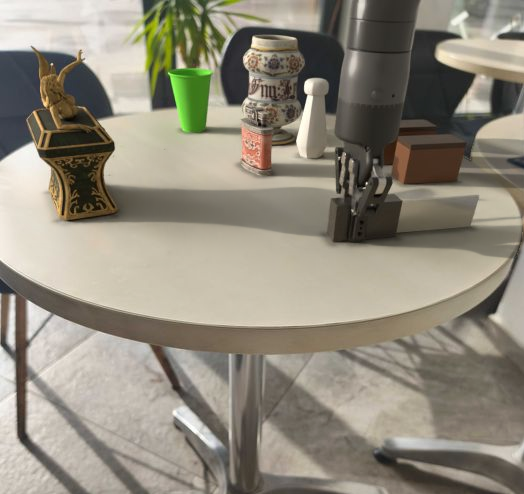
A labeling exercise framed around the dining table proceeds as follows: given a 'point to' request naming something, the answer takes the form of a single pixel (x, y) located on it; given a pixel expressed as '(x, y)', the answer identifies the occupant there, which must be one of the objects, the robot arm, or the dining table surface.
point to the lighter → (256, 141)
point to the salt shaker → (313, 120)
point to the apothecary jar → (274, 81)
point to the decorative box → (71, 148)
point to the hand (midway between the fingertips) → (351, 235)
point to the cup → (191, 97)
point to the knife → (403, 215)
